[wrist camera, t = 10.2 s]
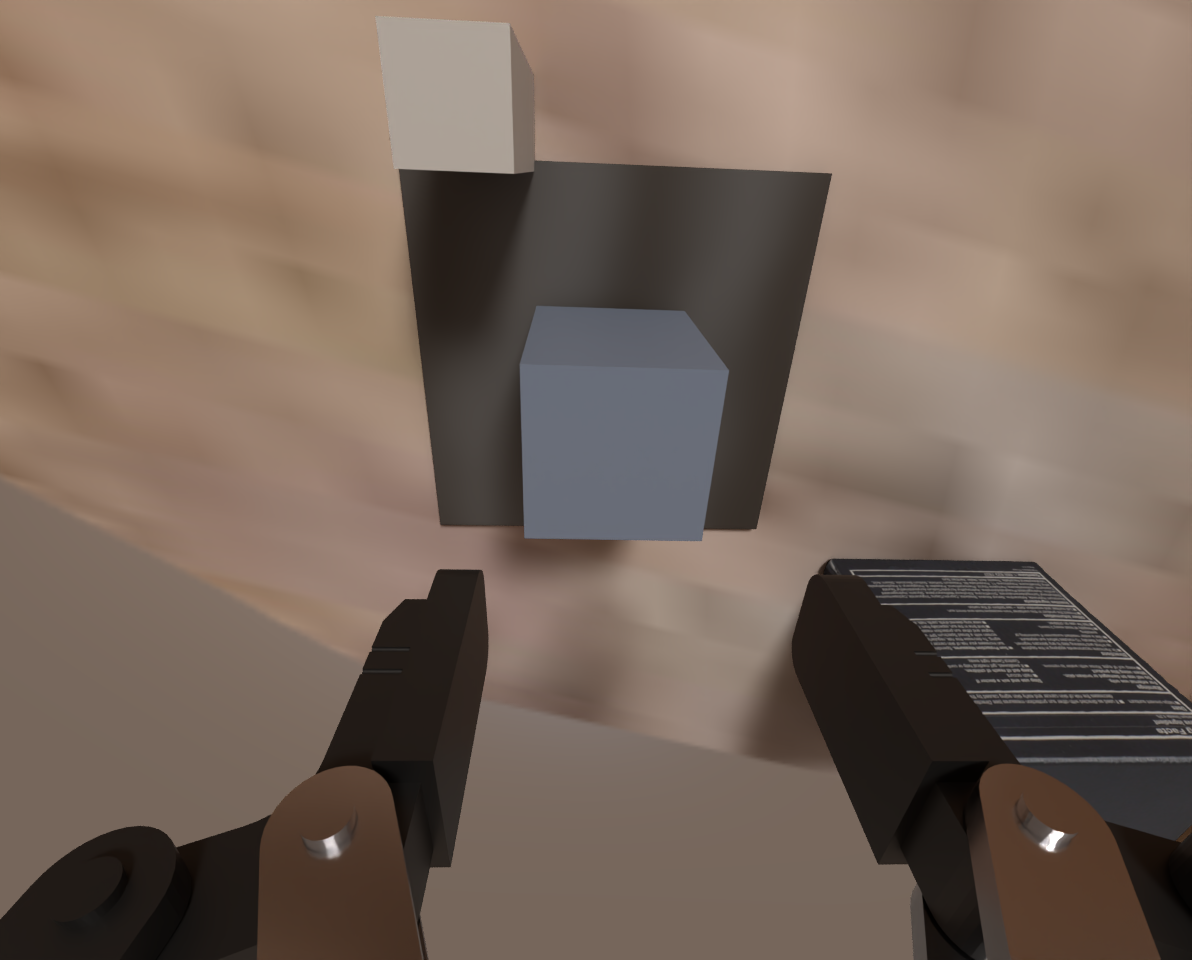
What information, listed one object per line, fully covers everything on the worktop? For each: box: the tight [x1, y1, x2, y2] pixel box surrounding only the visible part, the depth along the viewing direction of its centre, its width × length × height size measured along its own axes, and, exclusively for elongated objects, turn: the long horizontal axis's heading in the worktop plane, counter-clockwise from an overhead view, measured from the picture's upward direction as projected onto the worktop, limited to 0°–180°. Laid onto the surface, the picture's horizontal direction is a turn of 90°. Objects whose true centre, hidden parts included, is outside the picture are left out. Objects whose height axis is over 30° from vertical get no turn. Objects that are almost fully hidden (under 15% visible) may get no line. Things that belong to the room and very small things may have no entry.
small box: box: [824, 559, 1192, 841], centre depth 24 cm, size 11×6×10 cm, turn 88°
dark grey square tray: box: [399, 161, 832, 529], centre depth 19 cm, size 14×14×7 cm
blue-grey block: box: [520, 306, 729, 541], centre depth 18 cm, size 5×5×7 cm
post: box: [375, 16, 535, 174], centre depth 15 cm, size 3×3×7 cm
